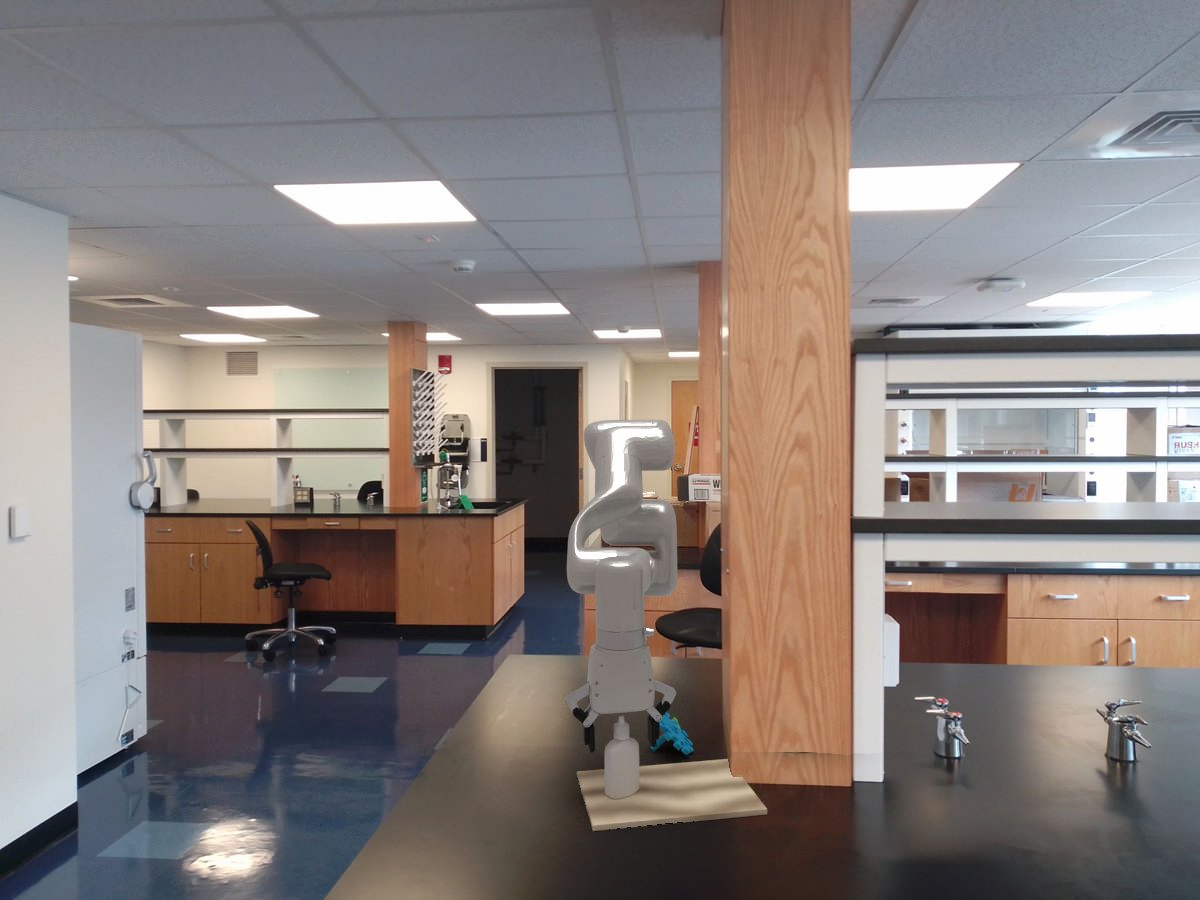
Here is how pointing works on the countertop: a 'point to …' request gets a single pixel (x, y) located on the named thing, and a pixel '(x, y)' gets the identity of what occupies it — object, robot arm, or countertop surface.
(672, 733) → the gear
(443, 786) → the countertop surface
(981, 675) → the countertop surface
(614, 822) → the beige flat sheet
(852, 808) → the countertop surface
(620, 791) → the eye dropper bottle
